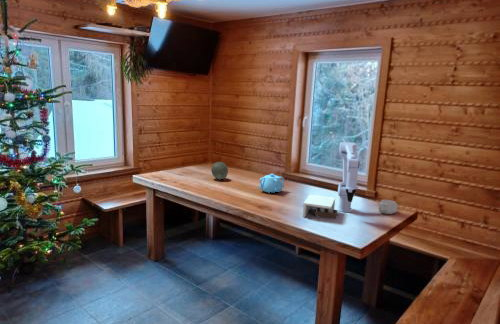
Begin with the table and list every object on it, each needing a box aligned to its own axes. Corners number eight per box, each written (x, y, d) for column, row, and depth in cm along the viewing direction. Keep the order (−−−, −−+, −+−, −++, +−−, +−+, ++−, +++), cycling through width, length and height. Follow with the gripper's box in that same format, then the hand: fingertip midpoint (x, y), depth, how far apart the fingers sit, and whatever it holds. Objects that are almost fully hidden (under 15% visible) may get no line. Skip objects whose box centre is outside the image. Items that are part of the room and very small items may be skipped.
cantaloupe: (229, 178, 296) (230, 161, 293) (224, 182, 282) (225, 164, 280) (214, 177, 299) (214, 160, 296) (208, 180, 285) (208, 162, 283)
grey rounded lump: (377, 214, 215) (378, 210, 229) (397, 216, 211) (397, 212, 224) (379, 199, 214) (380, 196, 228) (399, 202, 210) (398, 199, 224)
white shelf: (308, 207, 224) (309, 194, 222) (334, 211, 218) (335, 198, 217) (302, 217, 205) (303, 202, 203) (330, 221, 200) (331, 206, 198)
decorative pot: (267, 187, 271) (268, 170, 268) (286, 191, 262) (287, 173, 259) (256, 191, 257) (257, 174, 255) (275, 195, 248) (276, 177, 246)
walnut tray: (317, 212, 216) (318, 202, 215) (337, 214, 212) (338, 205, 211) (315, 215, 208) (316, 206, 207) (335, 218, 204) (336, 209, 203)
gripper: (358, 182, 194) (356, 205, 196) (359, 177, 207) (357, 199, 210) (345, 180, 196) (343, 204, 199) (347, 176, 210) (345, 197, 212)
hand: (349, 201), depth 204 cm, fingers closed
